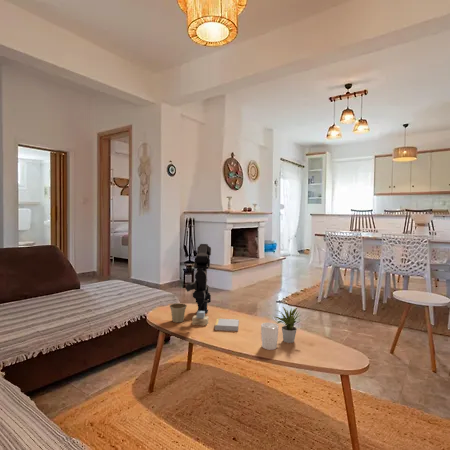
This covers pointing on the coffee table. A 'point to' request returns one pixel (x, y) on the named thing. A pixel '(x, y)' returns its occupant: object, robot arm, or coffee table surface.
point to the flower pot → (178, 312)
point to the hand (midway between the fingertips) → (200, 306)
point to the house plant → (288, 325)
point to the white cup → (269, 335)
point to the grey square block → (201, 314)
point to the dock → (227, 324)
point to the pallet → (200, 320)
